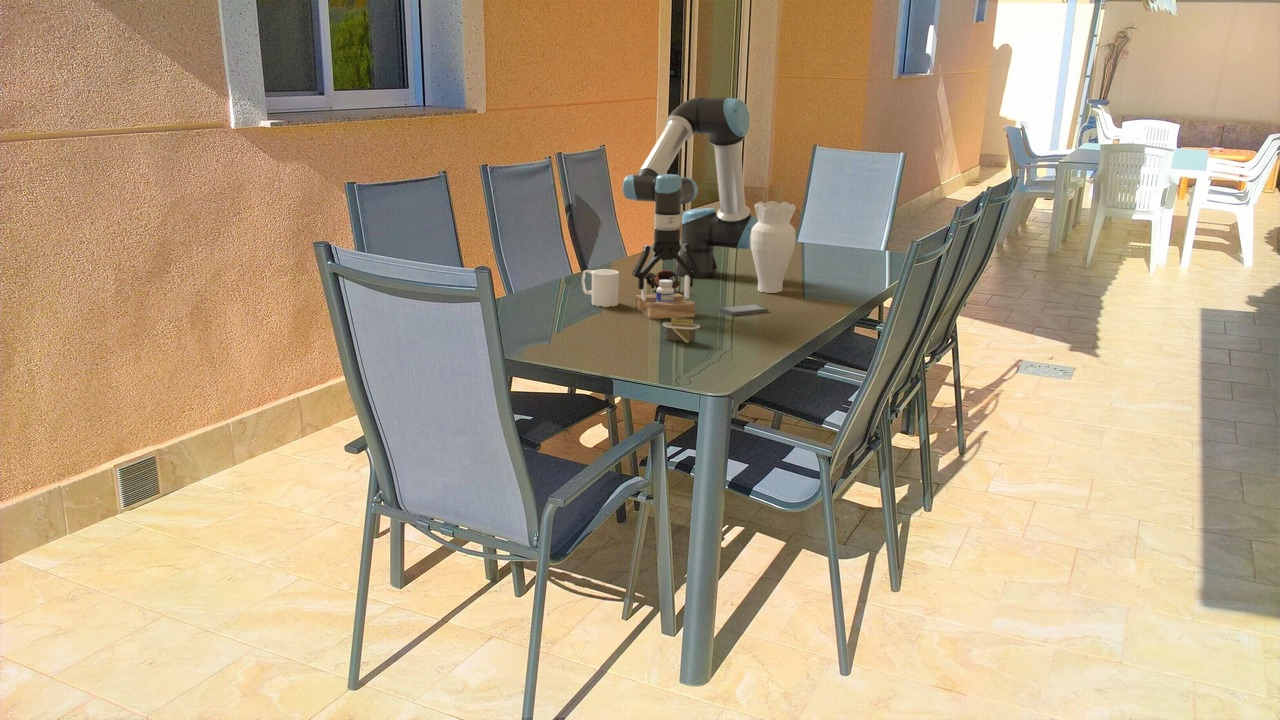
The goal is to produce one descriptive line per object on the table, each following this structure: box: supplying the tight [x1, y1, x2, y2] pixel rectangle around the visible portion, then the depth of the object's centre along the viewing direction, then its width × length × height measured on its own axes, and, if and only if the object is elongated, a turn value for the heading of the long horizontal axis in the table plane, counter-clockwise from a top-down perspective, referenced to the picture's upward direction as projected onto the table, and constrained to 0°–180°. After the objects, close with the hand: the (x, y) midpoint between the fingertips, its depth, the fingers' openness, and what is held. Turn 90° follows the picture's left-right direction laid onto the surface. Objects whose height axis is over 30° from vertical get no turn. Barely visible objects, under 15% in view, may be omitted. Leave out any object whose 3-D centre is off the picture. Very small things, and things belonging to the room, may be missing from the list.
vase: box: [750, 200, 797, 294], centre depth 331 cm, size 15×15×29 cm
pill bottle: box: [655, 279, 675, 302], centre depth 302 cm, size 5×5×10 cm
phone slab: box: [719, 303, 769, 317], centre depth 307 cm, size 7×13×1 cm, turn 117°
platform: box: [662, 317, 701, 344], centre depth 271 cm, size 12×18×7 cm, turn 78°
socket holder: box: [635, 293, 696, 320], centre depth 303 cm, size 14×14×4 cm
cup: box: [581, 268, 620, 308], centre depth 312 cm, size 8×12×10 cm
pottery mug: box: [645, 269, 681, 291], centre depth 330 cm, size 12×10×8 cm
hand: (665, 298), depth 302 cm, fingers open, 13 cm apart
